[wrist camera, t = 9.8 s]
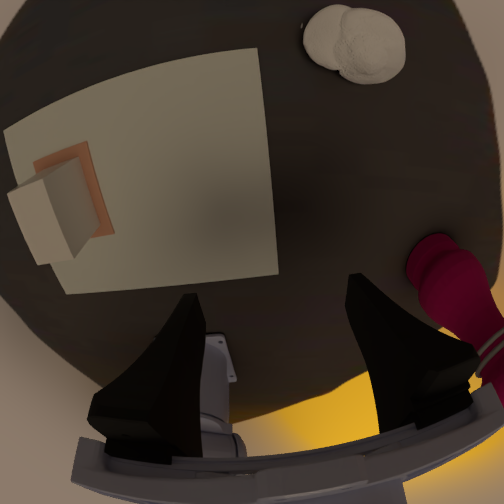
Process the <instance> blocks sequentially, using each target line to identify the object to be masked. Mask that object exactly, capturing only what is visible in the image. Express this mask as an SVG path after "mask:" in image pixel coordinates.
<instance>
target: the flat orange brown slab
mask: <svg viewBox="0 0 504 504" xmlns="http://www.w3.org/2000/svg"><path fill="white" fill-rule="evenodd" d="M78 156H79V159H80V163H81V166H82V170H83V173H84V176H85V180H86V183H87V186H88V189H89V192H90V196H91V199H92V202H93V204H94V207H95V210H96V213H97V216H98V219H99V221H100V224H101V225H100V226H99V227H98V229H97V230H96V231H95V232H94V234H93V235H92V236H91V237H90V238H95V237H100V236H106V235H112V234H115V232H114V229H113V226H112V223H111V220H110V217H109V214H108V211H107V208H106V205H105V202H104V199H103V196H102V193H101V189H100V186H99V183H98V179H97V176H96V172H95V169H94V165H93V162H92V158H91V154H90V150H89V146H88V142H87V141H85V142H82V143H79V144H76V145H73V146H71V147H68V148H65V149H63V150H60V151H58V152H55V153H53V154H50V155H48V156H46V157H43V158H41V159H39V160H36V161H34V162H33V165H34V169H35V172H36V174H37V173H38V172H40V171H42V170H43V169H46V168H48V167H51V166H53V165H56V164H59V163H61V162H64V161H67V160H69V159H72V158H75V157H78Z"/></svg>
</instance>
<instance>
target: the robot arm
mask: <svg viewBox="0 0 504 504" xmlns="http://www.w3.org/2000/svg"><path fill="white" fill-rule="evenodd" d="M345 308H346V312H347V316H348V319H349V323H350V325H351V328H352V330H353V333H354V335H355V338H356V340H357V342H358V345H359V347H360V350H361V352H362V355H363V357H364V360H365V362H366V365H367V369H368V372H369V376H370V380H371V385H372V389H373V394H374V399H375V404H376V410H377V416H378V424H379V431H380V432H379V433H380V434H378V435H375V436H371V437H367V438H364V439H360V440H356V441H352V442H347V443H343V444H339V445H334V446H329V447H324V448H319V449H313V450H307V451H300V452H293V453H285V454H277V455H266V456H253V457H247V452H246V446H245V444H244V442H243V440H242V439H241V437H240V436H239V435H238V434H236V433H232V424H229V423H228V422H229V382H235V381H237V377H236V374H235V370H234V367H233V364H232V360H231V357H230V354H229V350H228V347H227V343H226V340H225V336H224V335H223V334H209V335H206V322H205V319H204V316H203V312H202V309H201V306H200V303H199V300H198V297H197V293H191V294H184V295H183V296H182V298H181V299H180V301H179V303H178V304H177V306H176V308H175V309H174V311H173V313H172V314H171V316H170V317H169V319H168V320H167V322H166V323H165V325H164V326H163V328H162V329H161V331H160V332H159V334H158V335H157V336H156V338H154V339H153V342H152V343H151V344H150V345H149V347H148V348H147V349H146V350H145V351H144V353H143V354H142V355H141V356H140V357H139V358H138V359H137V360H136V361H135V362H134V363H133V364H132V365H131V366H130V367H129V368H128V369H127V370H126V371H125V372H124V373H122V374H121V375H120V376H119V377H118V378H116V379H115V380H114V381H113V382H111V383H110V384H108V385H107V386H106V387H104V388H103V389H101V390H100V391H98V392H97V393H95V394H94V396H93V399H92V402H91V406H90V409H89V413H88V417H87V421H88V422H89V424H90V425H91V426H92V427H93V428H94V429H96V430H97V431H98V432H100V433H101V434H102V435H104V436H105V437H106V438H107V439H106V443H103V442H101V441H97V440H93V439H89V438H84V437H80V438H79V442H78V446H77V451H76V455H75V460H74V465H73V470H72V476H71V482H72V483H75V484H77V485H79V486H82V487H84V488H86V489H89V490H92V491H94V492H97V493H99V494H102V495H106V496H110V497H113V498H118V499H121V500H126V501H129V502H134V503H139V504H407V502H406V497H405V492H404V488H403V484H402V483H403V482H405V481H408V480H410V479H413V478H415V477H417V476H420V475H422V474H424V473H426V472H428V471H431V470H433V469H435V468H437V467H439V466H441V465H443V464H445V463H447V462H449V461H451V460H452V459H454V458H456V457H458V456H460V455H461V454H463V453H465V452H467V451H469V450H470V449H472V448H474V447H475V446H477V445H479V444H480V443H482V442H483V441H485V440H486V439H487V438H489V437H490V436H491V435H493V434H494V433H496V432H497V431H498V430H499V429H500V428H502V427H503V426H504V408H503V406H502V404H501V401H500V399H499V397H498V395H497V393H496V391H495V389H494V387H493V385H492V383H491V382H489V383H488V384H486V385H484V386H482V387H480V388H478V389H477V390H475V391H473V392H472V393H471V394H470V393H469V391H468V389H469V388H470V384H469V382H468V380H469V379H470V377H471V376H472V375H473V373H474V372H475V371H476V370H477V368H478V367H479V365H480V362H481V359H480V356H479V355H478V353H477V351H476V350H475V348H474V346H473V345H472V344H470V343H467V342H464V341H461V340H458V339H456V338H453V337H451V336H448V335H446V334H444V333H442V332H440V331H438V330H436V329H434V328H432V327H430V326H428V325H427V324H425V323H423V322H422V321H420V320H418V319H417V318H415V317H414V316H412V315H411V314H409V313H408V312H407V311H405V310H404V309H403V308H401V307H400V306H399V305H397V304H396V303H395V302H394V301H392V300H391V299H390V298H389V297H388V296H386V295H385V294H384V293H383V292H382V291H381V290H379V289H378V288H377V287H376V286H375V285H374V284H373V283H372V282H370V281H369V280H368V279H367V278H366V277H365V276H364V275H363V274H361V273H357V274H350V275H349V279H348V287H347V294H346V301H345ZM245 474H249V475H245Z"/></svg>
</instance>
